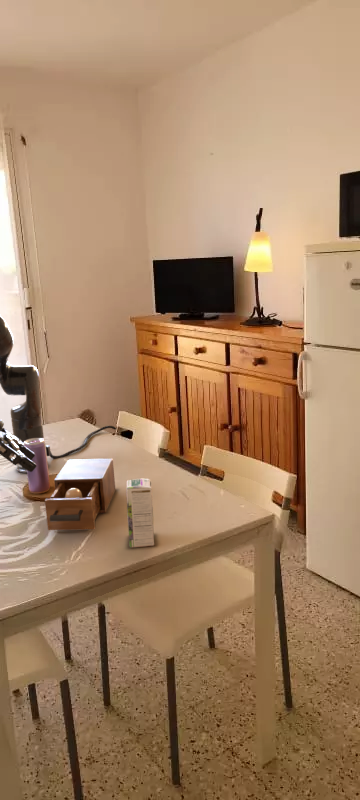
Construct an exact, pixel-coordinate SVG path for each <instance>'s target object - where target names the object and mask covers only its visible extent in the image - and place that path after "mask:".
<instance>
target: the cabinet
mask: <svg viewBox="0 0 360 800" xmlns="http://www.w3.org/2000/svg"><path fill="white" fill-rule="evenodd" d="M114 467H115V466H114V458H112V457H109V458H76V459H75V458H73V459H67V461H66V462H65V464H64V465H63V467H62V468H61V470H60V471H59V473H58V474H57V475H56V477H55V478H53V481H54V491H55V490H56V488H57V487H58V485H59V484H60V482H96V481H100V492H101V503H102V506H101V508H100V510H99V512H98V514H106V513H107V511H108V508H109V506H110V503H111V502H112V499H113V497H114V494H115V492H116V481H115V470H114V469H115V468H114Z"/></svg>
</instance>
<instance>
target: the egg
mask: <svg viewBox="0 0 360 800" xmlns="http://www.w3.org/2000/svg"><path fill="white" fill-rule="evenodd" d="M65 498H82V493H81V491H80V490H79V489H77V488H71V489H69V490H68V491H67V492H66V494H65Z"/></svg>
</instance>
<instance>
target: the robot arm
mask: <svg viewBox="0 0 360 800" xmlns="http://www.w3.org/2000/svg"><path fill="white" fill-rule="evenodd" d="M14 342H15V341H14V335H13V333H12V331H11V329H10V327H9V325H8V323H7V321H6V320H5V319H4V317H2V316H1V315H0V387H1V389H2V391H3V392H4V393H5V394H6V395H8V396H10V397H11V396H12V397H14V396H16V397H19V396H20V397H21V396H25V401H24V402H23V403H20V404H18V405H15V406H13V407H12V408H11V409H10V420H11V428H12V432H10V431H9V430H7V429H6V428H5V427H4V425H5V423H4V421H3V420H2V419H0V456H2V457H3V458H4V459H6V460H7V461H8V462H9V463H11V464H12V465H14V466H15V467H16V470H17V471H18V472H19V473H24V474H27V470H28V471H29V472H32V471H33V470H34V469H35V468H36V464H35V463H34V462H33V461H31V460H32V459H33V458H34V456H35V453H34V452H32V451H31V450H29V449H28V448H27V447H25V446H24V441H26V440H28V439H32V438H42V439H44V440H45V435H44V428H43V426H44V425H43V418H42V401H41V400H42V399H41V387H40V384H41V383H40V374H39V370H38V369H37V367H36V366H34V365H30V364H29V365H28V364H27V365H12V364H10V362H9V357H10V355H11V352H12V350H13V347H14ZM106 429H112V430H114V431H115V430H117V427H115V426H114V425H105V426H103V427H101V428H98V429H96V430H94V431H92V432H90V433H89V434H88V435H87V436H86V438H85V439H84V442H83V443H82V444H81V445H80V446H78V447H76V448H73V449H72V450H69V451H67V452H66V453H63V454H60V455H54V454H53V453H52V451H51V445H50V444H49V445H47V444H45V445H46V454H47V457H50V458H51V459H59V458H64V457H68V456H69V455H71V454H73V453H76V452H78V451H80V450H83V448H84V447H86V445H87V444H88V441H89V439H90V438H91V437H92V436H94V435H96V434H97V433H99V432H102V431H104V430H106Z"/></svg>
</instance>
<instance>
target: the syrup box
mask: <svg viewBox="0 0 360 800" xmlns="http://www.w3.org/2000/svg"><path fill="white" fill-rule="evenodd" d="M153 509H154V507H153V491H152V481H151V478H133V479H127V480H126V511H127V512H126V513H127V523H128V525H127V528H128V541H129V542H128V543H129V548H130V549H131V548H142V547H152V546H153V547H154V546H155V530H154V510H153Z"/></svg>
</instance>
